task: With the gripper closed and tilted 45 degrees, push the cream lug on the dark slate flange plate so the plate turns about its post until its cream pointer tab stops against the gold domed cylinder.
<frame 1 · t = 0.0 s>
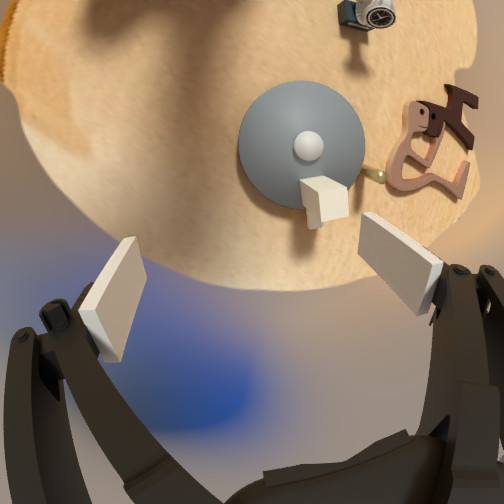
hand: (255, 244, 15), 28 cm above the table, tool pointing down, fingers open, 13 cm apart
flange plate: (317, 159, 35), point 6 cm above the table, hinge at 0.0°
gold domed cylinder: (360, 169, 43), on the table
watch: (352, 19, 30), on the table
wood carving: (435, 132, 41), on the table
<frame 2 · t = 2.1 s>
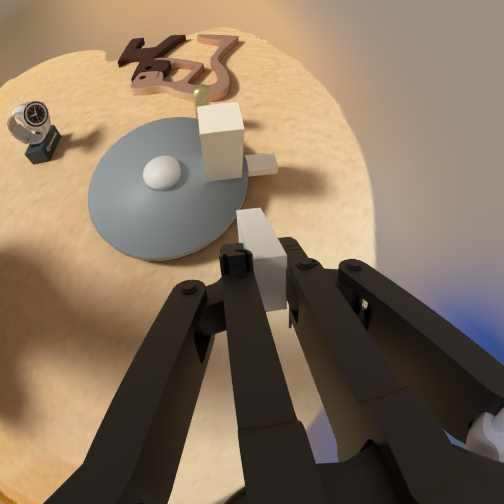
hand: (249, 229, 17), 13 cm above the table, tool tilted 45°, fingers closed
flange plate: (172, 154, 27), point 6 cm above the table, hinge at 0.0°
gold domed cylinder: (204, 125, 36), on the table
watch: (47, 150, 34), on the table
wood carving: (168, 67, 42), on the table
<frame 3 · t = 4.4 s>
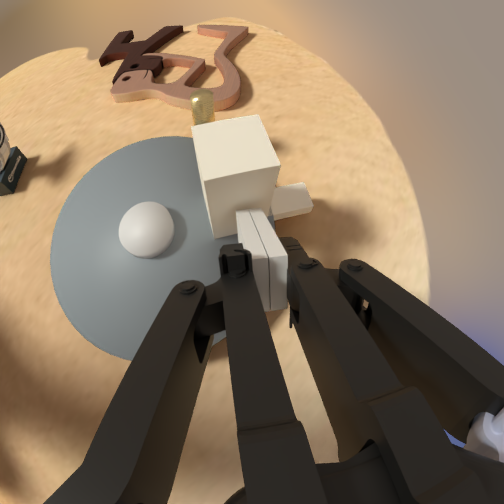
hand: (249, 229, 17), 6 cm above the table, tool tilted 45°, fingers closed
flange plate: (158, 206, 17), point 6 cm above the table, hinge at 5.9°, touching gripper
gold domed cylinder: (206, 145, 27), on the table
watch: (12, 177, 25), on the table
wood carving: (160, 65, 33), on the table
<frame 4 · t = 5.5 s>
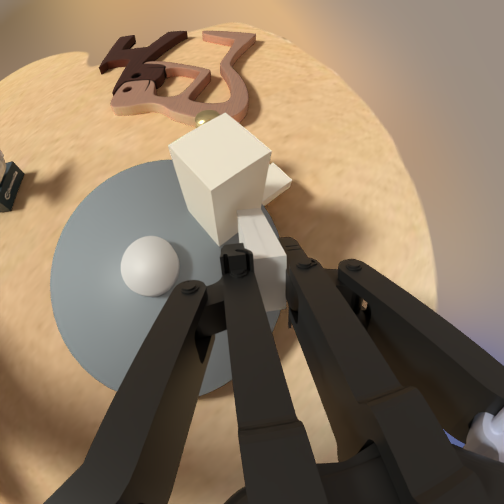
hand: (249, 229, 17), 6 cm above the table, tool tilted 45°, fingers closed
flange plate: (158, 237, 17), point 6 cm above the table, hinge at 31.6°, touching gripper
gold domed cylinder: (212, 168, 26), on the table
watch: (9, 193, 24), on the table
wood carving: (163, 74, 32), on the table
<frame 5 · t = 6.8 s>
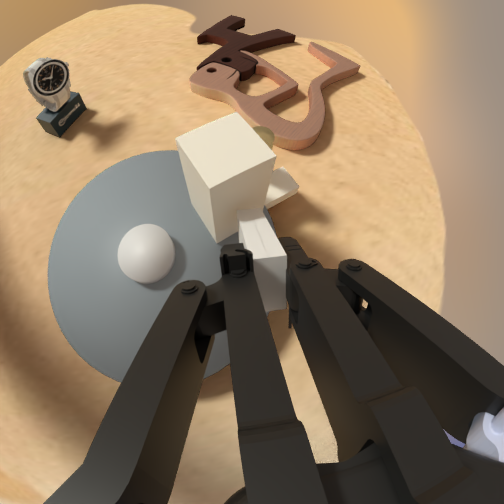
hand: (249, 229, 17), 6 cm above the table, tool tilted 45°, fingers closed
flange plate: (156, 226, 17), point 6 cm above the table, hinge at 50.1°, touching gold domed cylinder, gripper
gold domed cylinder: (253, 184, 25), on the table
watch: (66, 120, 27), on the table
wood carving: (254, 68, 32), on the table
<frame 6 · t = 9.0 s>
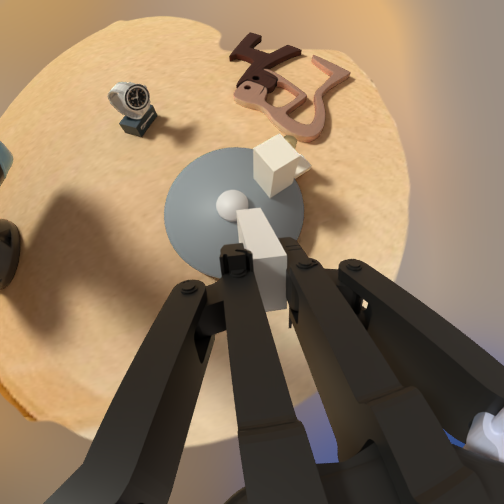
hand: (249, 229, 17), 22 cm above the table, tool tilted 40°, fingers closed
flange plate: (241, 190, 35), point 6 cm above the table, hinge at 50.1°, touching gold domed cylinder
gold domed cylinder: (284, 164, 42), on the table
watch: (142, 124, 45), on the table
wood carving: (275, 81, 47), on the table
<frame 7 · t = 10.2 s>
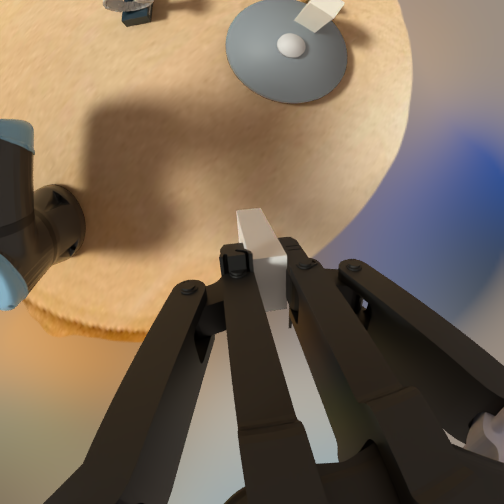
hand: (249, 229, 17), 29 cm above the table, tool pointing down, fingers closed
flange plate: (301, 33, 29), point 6 cm above the table, hinge at 50.1°, touching gold domed cylinder
gold domed cylinder: (304, 3, 31), on the table
watch: (140, 12, 28), on the table
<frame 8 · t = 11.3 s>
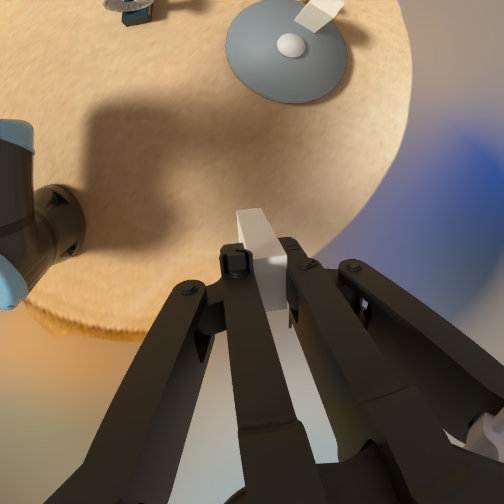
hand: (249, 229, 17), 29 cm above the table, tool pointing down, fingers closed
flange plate: (301, 33, 29), point 6 cm above the table, hinge at 50.1°, touching gold domed cylinder
gold domed cylinder: (304, 3, 31), on the table
watch: (140, 12, 28), on the table
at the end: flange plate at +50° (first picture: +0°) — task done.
